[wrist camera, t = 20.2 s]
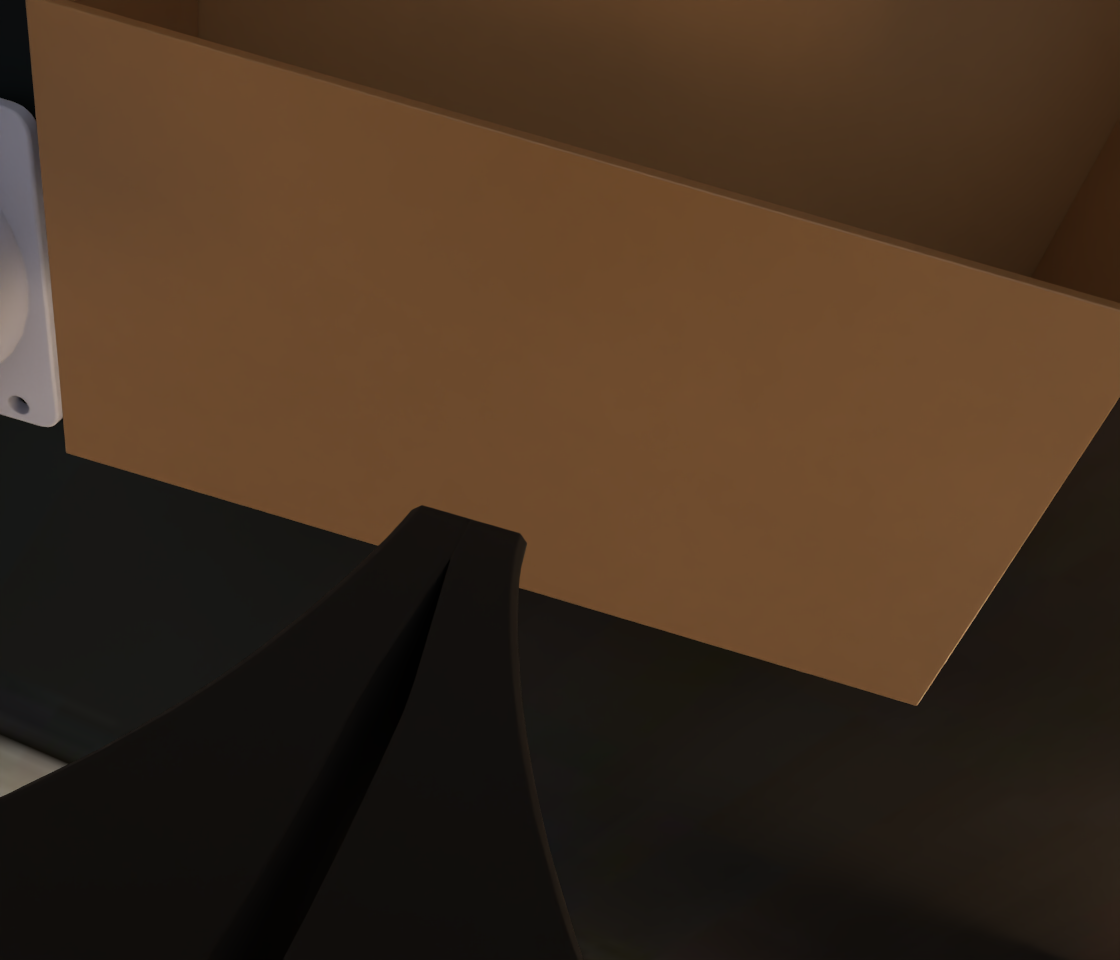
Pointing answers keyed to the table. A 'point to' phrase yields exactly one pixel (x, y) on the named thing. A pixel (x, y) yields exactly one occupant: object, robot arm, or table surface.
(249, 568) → the table surface
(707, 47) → the carton
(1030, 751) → the table surface
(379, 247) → the flap
